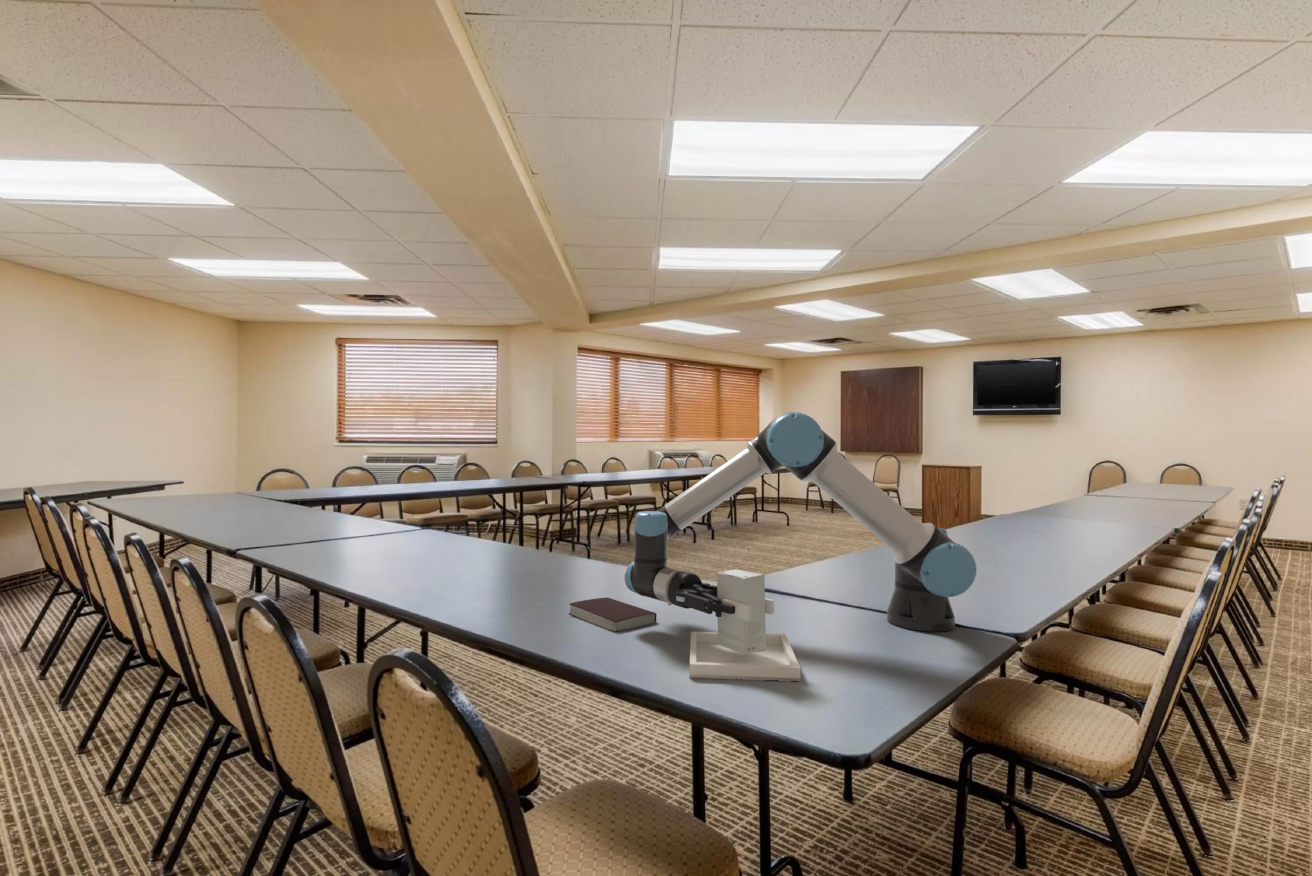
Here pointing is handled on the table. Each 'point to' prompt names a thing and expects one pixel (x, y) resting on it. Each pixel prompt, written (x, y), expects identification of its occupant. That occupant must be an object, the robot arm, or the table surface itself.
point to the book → (611, 613)
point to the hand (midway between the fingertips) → (761, 610)
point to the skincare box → (734, 629)
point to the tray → (742, 660)
